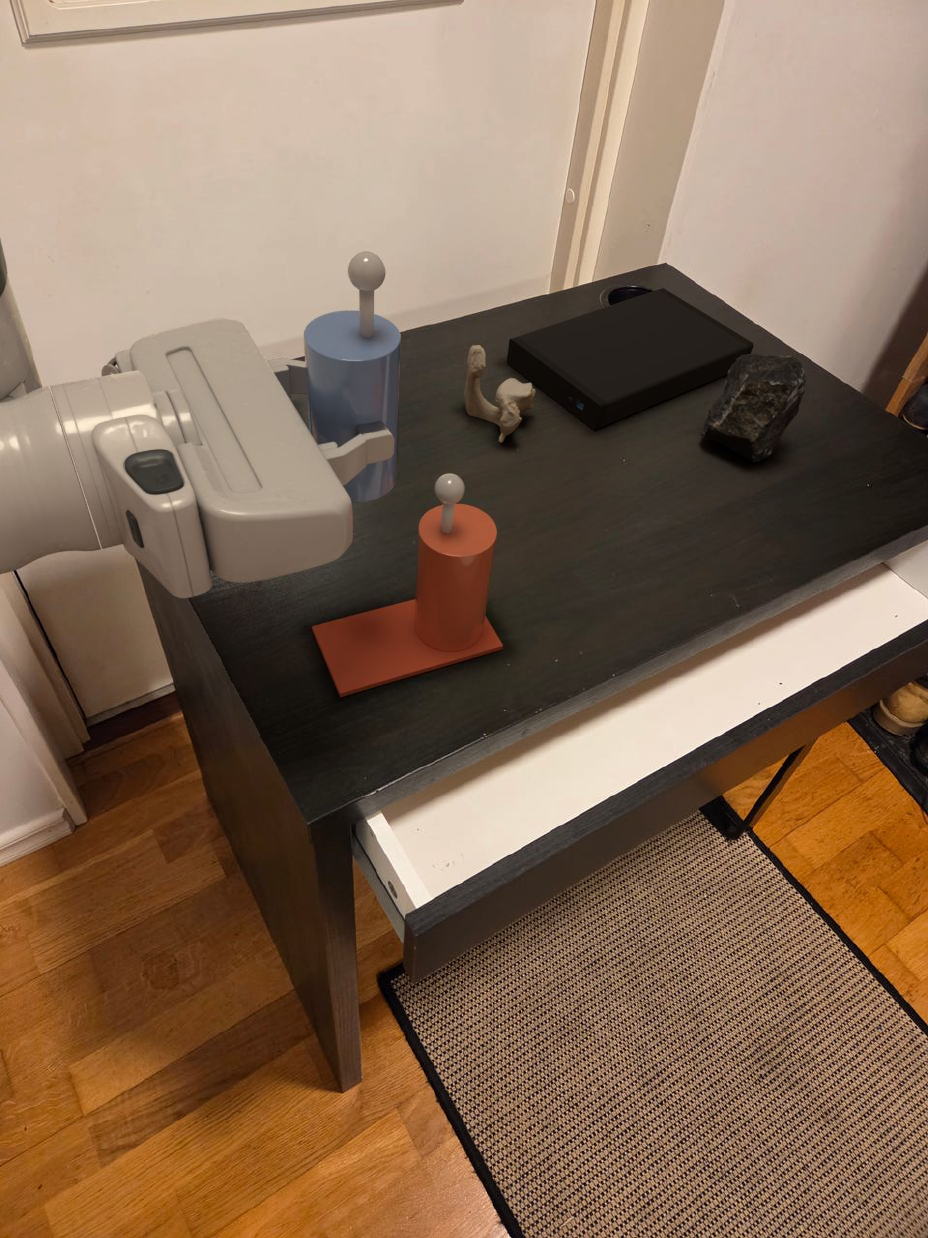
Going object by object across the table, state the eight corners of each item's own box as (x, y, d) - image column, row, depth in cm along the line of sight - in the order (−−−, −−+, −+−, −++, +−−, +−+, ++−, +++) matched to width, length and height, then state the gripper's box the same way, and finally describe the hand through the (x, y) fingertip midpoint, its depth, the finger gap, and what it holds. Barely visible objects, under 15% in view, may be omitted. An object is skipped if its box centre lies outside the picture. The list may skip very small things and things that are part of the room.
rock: (786, 445, 86) (824, 356, 79) (759, 480, 82) (797, 390, 75) (714, 415, 89) (745, 326, 81) (685, 447, 85) (715, 357, 77)
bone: (566, 425, 83) (529, 353, 75) (514, 467, 83) (472, 400, 75) (521, 384, 88) (482, 313, 80) (473, 424, 88) (429, 357, 81)
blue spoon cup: (316, 506, 53) (303, 279, 42) (308, 452, 56) (294, 230, 45) (403, 499, 54) (411, 276, 43) (390, 447, 57) (394, 229, 46)
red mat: (339, 697, 61) (339, 693, 61) (312, 630, 65) (311, 626, 65) (502, 649, 65) (503, 645, 65) (466, 589, 69) (467, 584, 69)
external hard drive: (745, 367, 95) (754, 343, 93) (594, 431, 85) (599, 405, 83) (655, 310, 103) (662, 286, 100) (506, 363, 92) (509, 337, 90)
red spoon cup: (418, 654, 64) (426, 505, 53) (410, 601, 67) (416, 451, 56) (489, 649, 65) (511, 501, 54) (477, 597, 68) (496, 448, 57)
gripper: (106, 403, 55) (311, 364, 60) (190, 622, 43) (436, 552, 48) (81, 311, 50) (306, 277, 55) (168, 530, 39) (443, 462, 43)
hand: (367, 407), depth 52 cm, fingers closed on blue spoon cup, 5 cm apart
